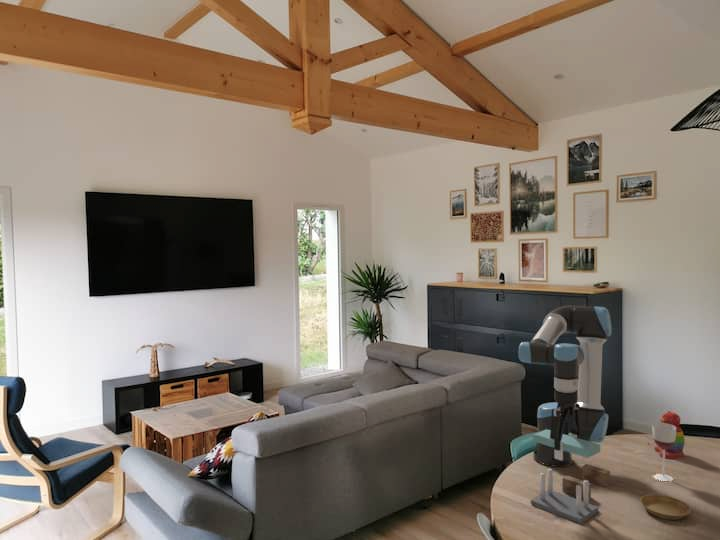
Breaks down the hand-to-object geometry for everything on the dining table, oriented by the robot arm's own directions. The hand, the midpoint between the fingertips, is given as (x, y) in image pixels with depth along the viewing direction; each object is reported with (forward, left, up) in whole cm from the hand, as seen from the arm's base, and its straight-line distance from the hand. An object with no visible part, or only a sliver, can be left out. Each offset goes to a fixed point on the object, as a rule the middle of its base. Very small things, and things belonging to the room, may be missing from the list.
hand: (565, 455), depth 185 cm
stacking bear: (+7, +75, -18) cm, 77 cm away
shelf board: (0, 0, +3) cm, 3 cm away
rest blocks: (-2, +19, -18) cm, 26 cm away
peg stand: (0, -1, -18) cm, 18 cm away
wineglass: (+14, +48, -18) cm, 53 cm away
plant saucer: (+24, +21, -18) cm, 37 cm away
